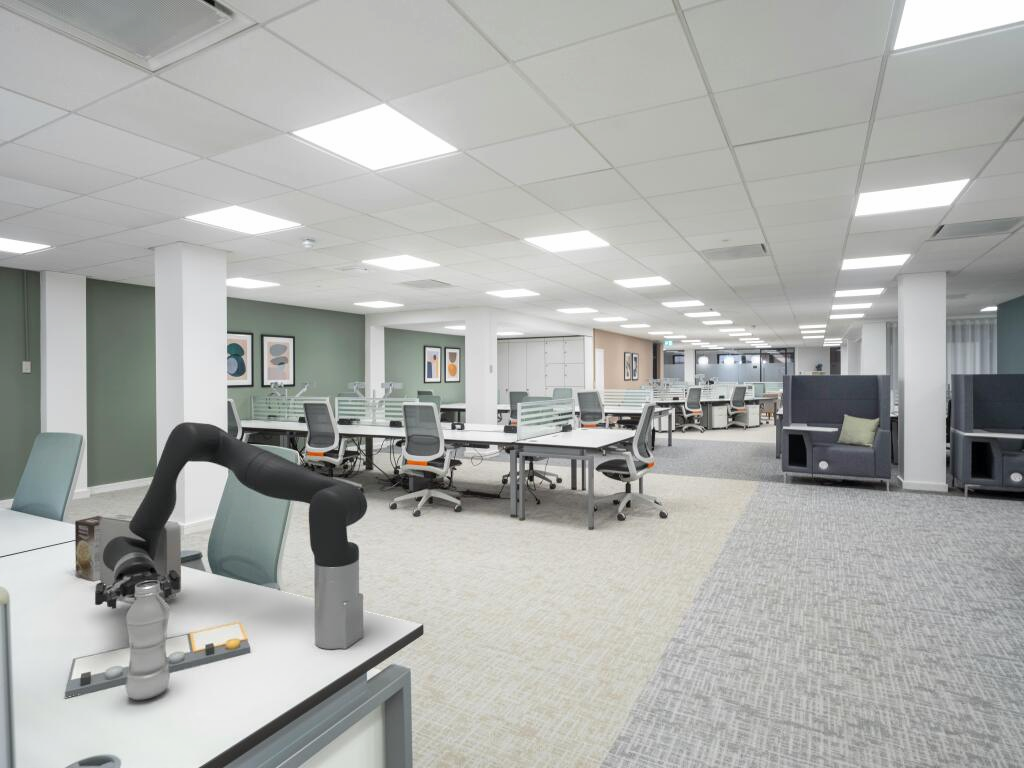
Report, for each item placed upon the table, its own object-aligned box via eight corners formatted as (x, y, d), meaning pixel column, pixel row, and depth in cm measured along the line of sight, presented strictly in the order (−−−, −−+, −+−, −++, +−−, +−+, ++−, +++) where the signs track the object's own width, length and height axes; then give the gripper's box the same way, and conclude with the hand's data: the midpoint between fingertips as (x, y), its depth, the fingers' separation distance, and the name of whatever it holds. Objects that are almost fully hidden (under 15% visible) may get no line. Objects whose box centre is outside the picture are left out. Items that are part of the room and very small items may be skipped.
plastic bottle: (138, 686, 103) (137, 578, 103) (177, 684, 104) (176, 576, 104) (117, 706, 97) (116, 591, 97) (158, 704, 98) (157, 590, 97)
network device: (91, 594, 147) (90, 518, 146) (124, 583, 155) (124, 511, 154) (158, 610, 137) (157, 528, 137) (191, 597, 145) (190, 519, 145)
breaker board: (240, 627, 128) (240, 615, 128) (250, 652, 116) (250, 640, 116) (73, 664, 111) (72, 651, 111) (65, 698, 99) (64, 684, 99)
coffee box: (74, 576, 160) (73, 520, 159) (98, 569, 166) (98, 515, 165) (93, 581, 156) (92, 524, 156) (117, 574, 162) (117, 518, 161)
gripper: (94, 563, 118) (95, 587, 105) (173, 550, 126) (183, 571, 113) (94, 598, 118) (95, 627, 105) (173, 583, 126) (183, 608, 114)
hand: (141, 598), depth 109 cm, fingers open, 8 cm apart
